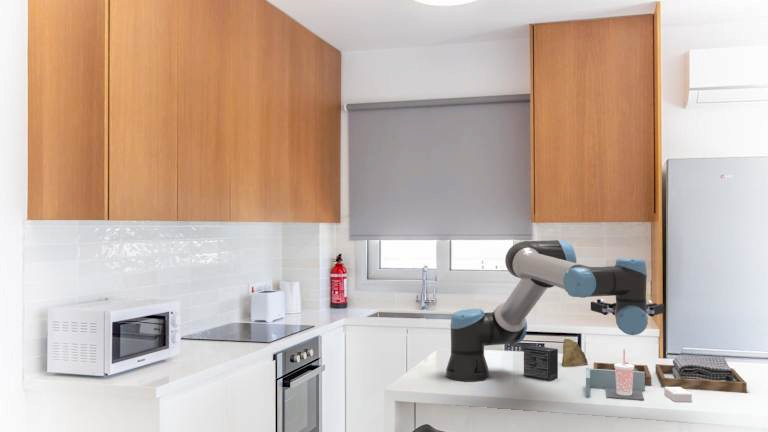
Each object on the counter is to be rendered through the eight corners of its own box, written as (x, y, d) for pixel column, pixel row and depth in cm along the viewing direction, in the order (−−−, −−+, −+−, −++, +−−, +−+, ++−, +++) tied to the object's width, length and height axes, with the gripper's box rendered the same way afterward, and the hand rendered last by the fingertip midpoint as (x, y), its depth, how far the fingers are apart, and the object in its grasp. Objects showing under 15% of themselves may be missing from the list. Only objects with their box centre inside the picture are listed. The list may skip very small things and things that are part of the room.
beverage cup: (611, 391, 222) (611, 347, 222) (630, 391, 222) (630, 347, 222) (617, 396, 216) (617, 351, 216) (637, 396, 216) (637, 351, 216)
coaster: (606, 397, 215) (606, 396, 215) (605, 389, 226) (605, 388, 226) (644, 400, 212) (644, 399, 212) (641, 391, 223) (641, 390, 223)
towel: (671, 375, 247) (671, 353, 247) (727, 378, 242) (727, 356, 242) (678, 385, 232) (678, 362, 232) (738, 388, 228) (738, 365, 228)
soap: (692, 403, 210) (692, 393, 210) (674, 403, 211) (674, 393, 211) (681, 395, 219) (681, 386, 219) (663, 395, 220) (663, 385, 220)
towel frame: (661, 387, 229) (661, 378, 229) (655, 372, 250) (655, 364, 250) (746, 392, 221) (746, 383, 221) (732, 377, 243) (732, 368, 243)
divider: (586, 396, 217) (586, 377, 217) (586, 386, 230) (586, 368, 230) (647, 401, 211) (647, 381, 211) (644, 390, 225) (644, 371, 225)
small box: (559, 378, 242) (559, 348, 242) (549, 381, 237) (549, 351, 237) (532, 373, 249) (532, 344, 249) (522, 376, 244) (522, 347, 244)
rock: (587, 356, 268) (561, 351, 270) (591, 341, 263) (564, 336, 265) (586, 377, 260) (559, 373, 262) (590, 362, 255) (562, 358, 257)
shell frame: (593, 382, 236) (593, 373, 236) (593, 370, 254) (593, 362, 254) (651, 385, 231) (651, 376, 231) (647, 373, 248) (647, 365, 248)
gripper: (581, 325, 193) (582, 314, 213) (678, 329, 186) (669, 318, 206) (581, 298, 193) (582, 290, 213) (678, 301, 186) (669, 292, 206)
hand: (625, 304), depth 210 cm, fingers open, 13 cm apart
